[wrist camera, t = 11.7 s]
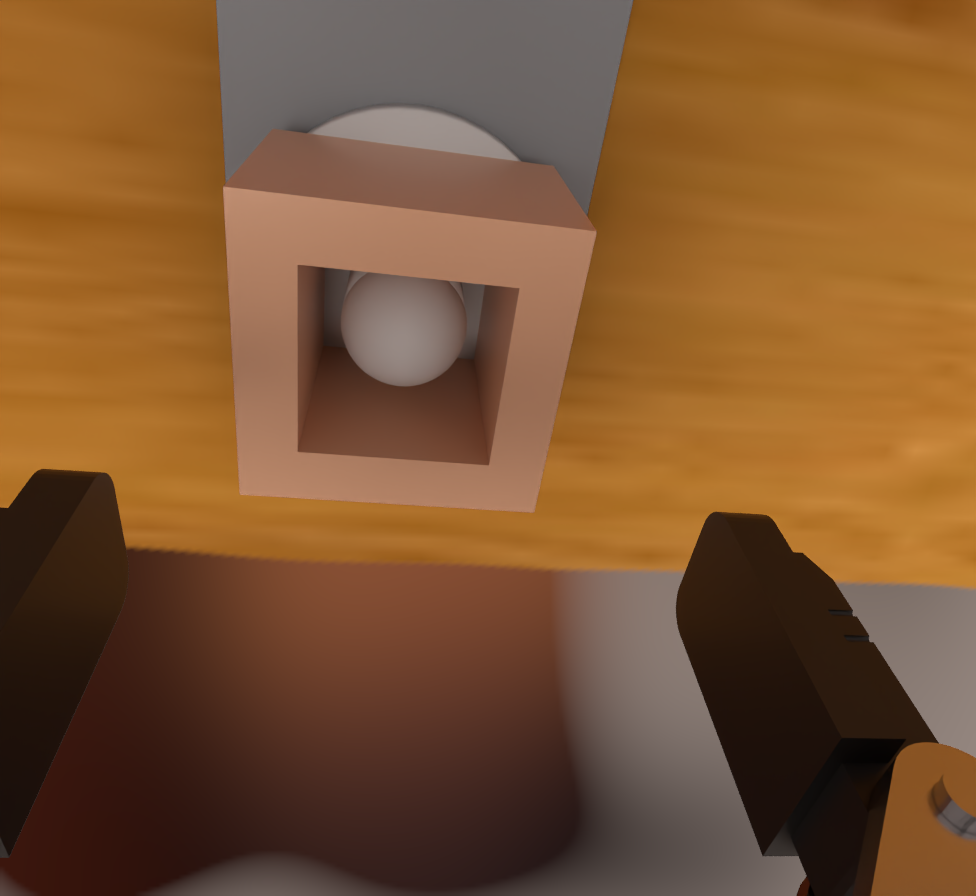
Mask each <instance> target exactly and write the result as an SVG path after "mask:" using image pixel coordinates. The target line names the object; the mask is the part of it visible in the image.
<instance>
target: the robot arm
mask: <svg viewBox="0 0 976 896" xmlns="http://www.w3.org/2000/svg"><path fill="white" fill-rule="evenodd" d="M128 577H129V565H128V557H127V552H126V547H125V541H124V536H123V531H122V526H121V520H120V515H119V510H118V504H117V499H116V494H115V489H114V484H113V482H112V479H111V477H110V476H109V475H108V474H107V473H101V472H85V471H68V470H52V469H41V470H38V471H37V472H36V473H34V474H33V476H32V477H31V478H30V479H29V481H28V482H27V483H26V485H25V486H24V487H23V489H22V490H21V492H20V493H19V494H18V496H17V497H16V498H15V500H14V501H13V502H12V504H11V505H10V506H9V508H0V857H10V854H11V852H12V850H13V848H14V845H15V843H16V841H17V838H18V837H19V834H20V832H21V830H22V828H23V825H24V823H25V821H26V819H27V817H28V815H29V812H30V810H31V808H32V806H33V804H34V801H35V799H36V797H37V795H38V793H39V790H40V788H41V786H42V784H43V782H44V779H45V777H46V775H47V773H48V771H49V768H50V766H51V764H52V762H53V760H54V757H55V755H56V753H57V751H58V749H59V746H60V744H61V742H62V740H63V738H64V735H65V733H66V731H67V729H68V727H69V724H70V722H71V720H72V718H73V716H74V713H75V711H76V709H77V706H78V705H79V702H80V700H81V698H82V696H83V694H84V691H85V689H86V687H87V685H88V682H89V680H90V678H91V676H92V674H93V672H94V669H95V667H96V665H97V663H98V660H99V658H100V656H101V654H102V652H103V650H104V647H105V645H106V643H107V641H108V639H109V636H110V634H111V632H112V630H113V628H114V625H115V623H116V621H117V619H118V616H119V614H120V612H121V610H122V607H123V604H124V601H125V597H126V593H127V587H128ZM852 611H853V610H852V608H851V607H850V605H849V604H848V602H847V601H846V599H845V598H844V597H843V595H842V593H841V591H840V590H839V588H838V587H837V585H836V584H835V582H834V580H833V579H832V578H830V577H829V576H828V575H827V574H826V573H825V572H824V571H822V570H821V569H820V568H819V567H818V566H817V565H816V564H814V563H813V562H812V561H811V560H810V559H809V558H808V557H807V556H805V555H804V554H803V553H795V552H792V550H791V548H790V547H789V545H788V543H787V542H786V540H785V538H784V537H783V535H782V533H781V532H780V530H779V529H778V527H777V525H776V524H775V522H774V521H773V520H772V519H771V518H770V517H769V516H767V515H760V514H743V513H727V512H713V513H712V514H710V515H709V516H708V518H707V519H706V521H705V523H704V525H703V528H702V530H701V533H700V535H699V538H698V541H697V543H696V546H695V548H694V551H693V553H692V556H691V559H690V561H689V564H688V566H687V569H686V571H685V574H684V577H683V580H682V582H681V584H680V587H679V590H678V594H677V602H676V618H677V625H678V629H679V633H680V636H681V638H682V640H683V644H684V646H685V649H686V652H687V654H688V657H689V660H690V662H691V665H692V668H693V670H694V673H695V676H696V678H697V681H698V684H699V687H700V689H701V692H702V694H703V697H704V700H705V703H706V705H707V708H708V710H709V713H710V716H711V719H712V721H713V724H714V727H715V729H716V732H717V735H718V737H719V740H720V742H721V745H722V748H723V751H724V753H725V756H726V759H727V761H728V764H729V767H730V770H731V772H732V775H733V778H734V780H735V783H736V786H737V788H738V791H739V794H740V796H741V799H742V801H743V804H744V807H745V810H746V812H747V815H748V818H749V820H750V823H751V826H752V828H753V831H754V834H755V837H756V839H757V842H758V845H759V847H760V850H761V853H762V855H763V856H799V858H800V861H801V863H802V866H803V868H804V871H805V873H806V875H807V876H806V878H805V879H804V880H803V882H802V883H801V884H800V887H799V889H798V892H797V895H796V896H976V758H975V757H973V756H971V755H969V754H967V753H965V752H963V751H961V750H959V749H956V748H953V747H950V746H947V745H943V744H939V743H938V741H937V740H936V738H935V737H934V735H933V734H932V732H931V731H930V729H929V727H928V726H927V724H926V723H925V721H924V720H923V719H922V717H921V715H920V713H919V712H918V710H917V709H916V707H915V706H914V704H913V703H912V701H911V700H910V698H909V696H908V695H907V693H906V692H905V690H904V689H903V687H902V686H901V684H900V683H899V681H898V680H897V678H896V676H895V675H894V673H893V672H892V670H891V669H890V667H889V666H888V664H887V662H886V661H885V659H884V658H883V656H882V655H881V653H880V652H879V650H878V649H877V647H876V645H875V644H874V643H873V642H869V635H868V633H867V632H866V630H865V629H864V627H863V625H862V624H861V622H860V621H859V619H858V618H857V617H855V616H853V615H852Z"/></svg>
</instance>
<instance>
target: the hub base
mask: <svg viewBox="0 0 976 896" xmlns="http://www.w3.org/2000/svg"><path fill="white" fill-rule="evenodd" d="M632 4H633V0H216V7H217V26H218V45H219V64H220V83H221V102H222V121H223V140H224V159H225V178H226V183H227V181H228V180H229V179H230V178H231V177H232V176H233V174H234V173H235V172H236V171H237V170H238V169H239V167H240V166H241V165H242V164H243V163H244V162H245V160H246V159H247V158H248V157H249V156H250V155H251V153H252V152H253V151H254V150H255V149H256V148H257V146H258V145H259V144H260V143H261V142H262V141H263V139H264V138H265V137H266V136H267V135H268V134H269V132H270V131H271V130H272V129H279V130H286V131H294V132H302V133H309V134H317V135H324V136H332V137H339V138H347V139H354V140H362V141H370V142H377V143H385V144H392V145H400V146H407V147H415V148H422V149H430V150H438V151H445V152H453V153H460V154H468V155H475V156H483V157H490V158H498V159H506V160H513V161H521V162H528V163H536V164H543V165H551V166H554V167H555V169H556V170H557V172H558V173H559V175H560V176H561V178H562V179H563V181H564V182H565V184H566V185H567V187H568V189H569V190H570V192H571V193H572V195H573V196H574V198H575V199H576V201H577V202H578V204H579V205H580V207H581V208H582V210H583V211H584V213H585V214H586V216H587V214H588V210H589V205H590V200H591V196H592V191H593V186H594V182H595V177H596V172H597V167H598V163H599V158H600V153H601V149H602V144H603V139H604V135H605V130H606V125H607V121H608V116H609V111H610V107H611V102H612V97H613V93H614V88H615V83H616V79H617V74H618V69H619V64H620V60H621V55H622V50H623V46H624V41H625V36H626V32H627V27H628V22H629V18H630V13H631V8H632ZM484 288H485V285H484V284H474V283H465V282H456V281H446V280H437V279H427V278H418V277H409V276H399V275H390V274H381V273H371V272H362V271H352V270H343V269H334V268H325V295H324V343H323V346H331V347H342V348H347V350H348V352H349V354H350V356H351V357H352V359H353V360H354V362H355V363H356V364H357V365H358V366H359V367H360V368H361V369H362V370H363V371H364V372H365V373H367V374H368V375H369V376H371V377H373V378H375V379H376V380H378V381H381V382H383V383H386V384H389V385H394V386H405V387H407V386H416V385H421V384H424V383H427V382H429V381H431V380H433V379H436V378H437V377H439V376H440V375H442V374H443V373H444V372H445V371H447V370H448V369H449V368H450V366H451V365H452V364H453V363H454V362H455V360H456V359H457V358H463V359H474V356H475V350H476V343H477V336H478V329H479V322H480V315H481V308H482V301H483V295H484Z"/></svg>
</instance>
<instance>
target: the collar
mask: <svg viewBox="0 0 976 896" xmlns="http://www.w3.org/2000/svg"><path fill="white" fill-rule="evenodd" d="M223 196H224V214H225V232H226V251H227V269H228V287H229V306H230V324H231V342H232V361H233V379H234V398H235V416H236V434H237V453H238V471H239V489H240V495H256V496H272V497H288V498H304V499H321V500H337V501H353V502H369V503H385V504H402V505H418V506H434V507H450V508H466V509H483V510H499V511H515V512H531V513H534V511H535V506H536V502H537V497H538V493H539V488H540V484H541V480H542V475H543V471H544V466H545V462H546V457H547V453H548V448H549V444H550V439H551V435H552V430H553V426H554V421H555V417H556V412H557V408H558V403H559V399H560V394H561V390H562V386H563V381H564V377H565V372H566V368H567V363H568V359H569V354H570V350H571V345H572V341H573V336H574V332H575V327H576V323H577V318H578V314H579V309H580V305H581V300H582V296H583V291H584V287H585V283H586V278H587V274H588V269H589V265H590V260H591V256H592V251H593V247H594V242H595V238H596V233H597V231H596V229H595V228H594V226H593V225H592V223H591V222H590V220H589V219H588V217H587V216H586V214H585V213H584V211H583V210H582V208H581V207H580V205H579V204H578V202H577V201H576V199H575V198H574V196H573V195H572V193H571V192H570V190H569V189H568V187H567V185H566V184H565V182H564V181H563V179H562V178H561V176H560V175H559V173H558V172H557V170H556V169H555V167H554V166H551V165H543V164H536V163H528V162H521V161H513V160H506V159H498V158H490V157H483V156H475V155H468V154H460V153H453V152H445V151H438V150H430V149H422V148H415V147H407V146H400V145H392V144H385V143H377V142H370V141H362V140H354V139H347V138H339V137H332V136H324V135H317V134H309V133H302V132H294V131H286V130H279V129H272V130H271V131H270V132H269V134H268V135H267V136H266V137H265V138H264V139H263V141H262V142H261V143H260V144H259V145H258V146H257V148H256V149H255V150H254V151H253V152H252V153H251V155H250V156H249V157H248V158H247V159H246V160H245V162H244V163H243V164H242V165H241V166H240V167H239V169H238V170H237V171H236V172H235V173H234V174H233V176H232V177H231V178H230V179H229V180H228V181H227V183H226V184H225V185H224V186H223ZM325 268H334V269H343V270H352V271H362V272H371V273H381V274H390V275H399V276H409V277H418V278H427V279H437V280H446V281H456V282H465V283H474V284H484V285H485V288H484V295H483V301H482V308H481V315H480V322H479V329H478V336H477V343H476V350H475V356H474V359H463V358H457V359H456V360H455V362H454V363H453V364H452V365H451V366H450V368H449V369H448V370H447V371H445V372H444V373H443V374H442V375H440V376H439V377H437V378H436V379H433V380H431V381H429V382H427V383H424V384H421V385H416V386H407V387H405V386H394V385H389V384H386V383H383V382H381V381H378V380H376V379H375V378H373V377H371V376H369V375H368V374H367V373H365V372H364V371H363V370H362V369H361V368H360V367H359V366H358V365H357V364H356V363H355V362H354V360H353V359H352V357H351V356H350V354H349V352H348V350H347V348H342V347H331V346H323V343H324V295H325Z"/></svg>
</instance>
